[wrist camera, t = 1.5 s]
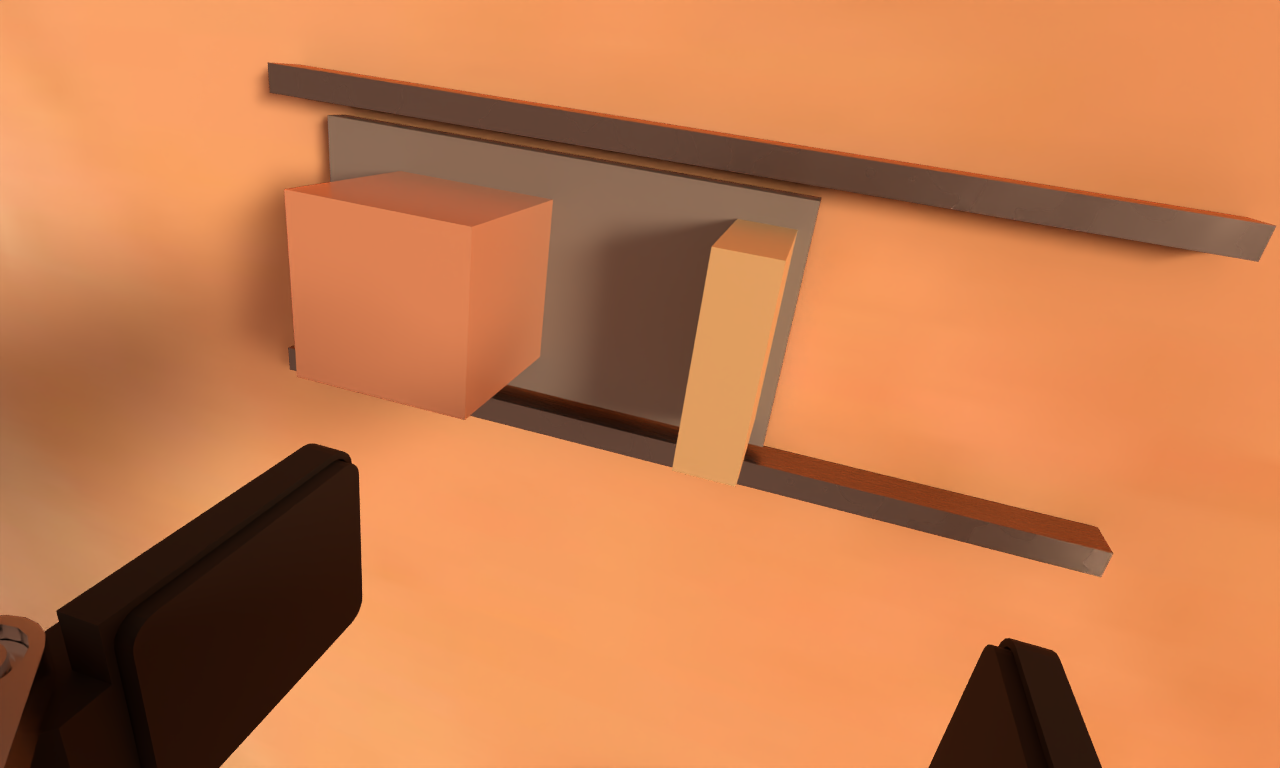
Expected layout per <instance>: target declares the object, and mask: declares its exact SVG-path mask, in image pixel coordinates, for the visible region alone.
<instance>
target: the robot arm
mask: <svg viewBox="0 0 1280 768" xmlns="http://www.w3.org/2000/svg"><path fill="white" fill-rule="evenodd" d="M361 603H362V569H361V533H360V497H359V472H358V468H357V466H355V465H354V464H352V462H351V458H350V456H349V454H347V453H345V452H343V451H339V450H336V449H332V448H329V447H325V446H321V445H318V444H307V445H305V446H303V447H302V448H300V449H299V450H297V451H296V452H294V453H293V454H291V455H290V456H288V457H287V458H285V459H284V460H282V461H281V462H279V463H278V464H276V465H275V466H273V467H272V468H270V469H269V470H267V471H266V472H264V473H263V474H261V475H260V476H258V477H257V478H255V479H254V480H252V481H251V482H249V483H248V484H246V485H245V486H243V487H242V488H240V489H239V490H237V491H236V492H234V493H233V494H231V495H230V496H228V497H227V498H225V499H224V500H222V501H221V502H219V503H218V504H216V505H215V506H213V507H212V508H210V509H209V510H207V511H206V512H204V513H203V514H201V515H200V516H198V517H197V518H195V519H194V520H192V521H191V522H189V523H188V524H186V525H185V526H183V527H182V528H180V529H179V530H177V531H176V532H174V533H173V534H171V535H170V536H168V537H167V538H165V539H164V540H162V541H161V542H159V543H158V544H156V545H155V546H153V547H152V548H150V549H149V550H147V551H146V552H144V553H143V554H141V555H140V556H138V557H137V558H135V559H134V560H132V561H131V562H129V563H128V564H126V565H125V566H123V567H122V568H120V569H119V570H117V571H116V572H114V573H113V574H111V575H110V576H108V577H107V578H105V579H104V580H102V581H101V582H99V583H98V584H96V585H95V586H93V587H92V588H90V589H89V590H87V591H86V592H84V593H83V594H81V595H80V596H78V597H77V598H75V599H74V600H72V601H71V602H69V603H68V604H66V605H65V606H63V607H62V608H60V609H58V610H57V611H56V612H57V615H58V619H59V622H58V623H56V624H55V625H53V626H52V627H51V628H49V629H48V630H46V631H45V632H44V631H43V629H42V628H41V626H40V625H39V624H38V623H36V622H34V621H32V620H30V619H28V618H26V617H18V616H10V615H0V768H219V767H220V766H221V765H222V764H223V763H224V762H225V761H226V760H227V759H228V758H229V756H230V755H231V754H232V753H233V752H234V751H235V750H236V749H237V748H238V747H239V745H240V744H241V743H242V742H243V741H244V740H245V739H246V738H247V737H248V736H249V735H250V733H251V732H252V731H253V730H254V729H255V728H256V727H257V726H258V725H259V724H260V723H261V721H262V720H263V719H264V718H265V717H266V716H267V715H268V714H269V713H270V712H271V710H272V709H273V708H274V707H275V706H276V705H277V704H278V703H279V702H280V701H281V700H282V698H283V697H284V696H285V695H286V694H287V693H288V692H289V691H290V690H291V689H292V688H293V686H294V685H295V684H296V683H297V682H298V681H299V680H300V679H301V678H302V677H303V675H304V674H305V673H306V672H307V671H308V670H309V669H310V668H311V667H312V666H313V665H314V663H315V662H316V661H317V660H318V659H319V658H320V657H321V656H322V655H323V654H324V653H325V651H326V650H327V649H328V648H329V647H330V646H331V645H332V644H333V643H334V642H335V640H336V639H337V638H338V637H339V636H340V635H341V634H342V633H343V632H344V631H345V630H346V628H347V627H348V626H349V625H350V624H351V623H352V622H353V620H354V619H355V617H356V616H357V614H358V612H359V609H360V607H361ZM929 768H1102V767H1101V764H1100V762H1099V759H1098V756H1097V754H1096V751H1095V749H1094V746H1093V743H1092V741H1091V738H1090V736H1089V733H1088V731H1087V728H1086V725H1085V723H1084V720H1083V718H1082V715H1081V713H1080V710H1079V707H1078V705H1077V702H1076V700H1075V697H1074V695H1073V692H1072V689H1071V687H1070V684H1069V682H1068V679H1067V676H1066V674H1065V671H1064V669H1063V666H1062V664H1061V661H1060V659H1059V657H1058V655H1057V653H1055V652H1054V651H1052V650H1049V649H1046V648H1042V647H1039V646H1035V645H1032V644H1028V643H1024V642H1021V641H1017V640H1014V639H1010V638H1007V639H1004V640H1003V641H1002V642H1001V643H1000V645H999V646H998V647H997V646H994V645H987V646H986V647H985V648H984V650H983V652H982V654H981V656H980V658H979V660H978V662H977V664H976V666H975V669H974V671H973V673H972V675H971V677H970V679H969V682H968V684H967V686H966V688H965V690H964V692H963V695H962V697H961V699H960V701H959V703H958V705H957V708H956V710H955V712H954V714H953V716H952V718H951V720H950V723H949V725H948V727H947V729H946V731H945V733H944V736H943V738H942V740H941V742H940V744H939V746H938V749H937V751H936V753H935V755H934V757H933V759H932V762H931V764H930V766H929Z"/></svg>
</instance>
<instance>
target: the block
mask: <svg viewBox="0 0 1280 768" xmlns="http://www.w3.org/2000/svg"><path fill="white" fill-rule="evenodd" d="M284 193H285V208H286V223H287V237H288V252H289V267H290V281H291V296H292V311H293V325H294V340H295V354H296V369H297V377H300V378H304V379H308V380H312V381H316V382H319V383H323V384H327V385H331V386H335V387H339V388H343V389H347V390H350V391H354V392H358V393H362V394H366V395H370V396H374V397H378V398H381V399H385V400H389V401H393V402H397V403H401V404H405V405H409V406H413V407H416V408H420V409H424V410H428V411H432V412H436V413H440V414H444V415H447V416H451V417H455V418H459V419H463V420H465V419H466V418H468V417H469V416H470V415H471V414H472V413H473V412H475V411H476V410H477V409H478V408H479V407H481V406H482V405H483V404H484V403H485V402H487V401H488V400H489V399H490V398H491V397H493V396H494V395H495V394H496V393H497V392H499V391H500V390H501V389H502V388H503V387H505V386H506V385H507V384H508V383H509V382H511V381H512V380H513V379H514V378H515V377H517V376H518V375H519V374H520V373H521V372H523V371H524V370H525V369H526V368H527V367H528V366H530V365H531V364H532V363H533V362H534V361H536V360H537V359H538V358H539V357H540V350H541V338H542V326H543V314H544V302H545V290H546V278H547V266H548V254H549V242H550V230H551V218H552V206H553V200H552V199H547V198H542V197H536V196H531V195H526V194H520V193H515V192H510V191H505V190H499V189H494V188H489V187H483V186H478V185H473V184H467V183H462V182H457V181H451V180H446V179H441V178H435V177H430V176H425V175H419V174H414V173H409V172H403V171H397V172H391V173H385V174H378V175H372V176H366V177H359V178H353V179H346V180H340V181H334V182H327V183H321V184H315V185H308V186H302V187H295V188H289V189H284Z"/></svg>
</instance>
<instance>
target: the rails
mask: <svg viewBox="0 0 1280 768" xmlns="http://www.w3.org/2000/svg"><path fill="white" fill-rule="evenodd" d="M268 73H269V87H270V93H276V94H281V95H287V96H293V97H299V98H305V99H311V100H316V101H322V102H328V103H334V104H340V105H346V106H352V107H357V108H363V109H369V110H375V111H381V112H387V113H392V114H398V115H404V116H410V117H416V118H422V119H427V120H433V121H439V122H445V123H451V124H457V125H463V126H468V127H474V128H480V129H486V130H492V131H498V132H503V133H509V134H515V135H521V136H527V137H533V138H539V139H544V140H550V141H556V142H562V143H568V144H574V145H579V146H585V147H591V148H597V149H603V150H609V151H614V152H620V153H626V154H632V155H638V156H644V157H650V158H655V159H661V160H667V161H673V162H679V163H685V164H690V165H696V166H702V167H708V168H714V169H720V170H725V171H731V172H737V173H743V174H749V175H755V176H761V177H766V178H772V179H778V180H784V181H790V182H796V183H801V184H807V185H813V186H819V187H825V188H831V189H836V190H842V191H848V192H854V193H860V194H866V195H872V196H877V197H883V198H889V199H895V200H901V201H907V202H912V203H918V204H924V205H930V206H936V207H942V208H947V209H953V210H959V211H965V212H971V213H977V214H983V215H988V216H994V217H1000V218H1006V219H1012V220H1018V221H1023V222H1029V223H1035V224H1041V225H1047V226H1053V227H1058V228H1064V229H1070V230H1076V231H1082V232H1088V233H1094V234H1099V235H1105V236H1111V237H1117V238H1123V239H1129V240H1134V241H1140V242H1146V243H1152V244H1158V245H1164V246H1170V247H1175V248H1181V249H1187V250H1193V251H1199V252H1205V253H1210V254H1216V255H1222V256H1228V257H1234V258H1240V259H1245V260H1251V261H1257V262H1259V260H1260V258H1261V255H1262V253H1263V251H1264V249H1265V247H1266V245H1267V243H1268V241H1269V239H1270V237H1271V235H1272V233H1273V231H1274V229H1275V227H1276V226H1275V225H1272V224H1268V223H1265V222H1261V221H1258V220H1255V219H1251V218H1248V217H1242V216H1236V215H1230V214H1224V213H1218V212H1211V211H1205V210H1199V209H1193V208H1187V207H1180V206H1174V205H1168V204H1162V203H1155V202H1149V201H1143V200H1137V199H1131V198H1124V197H1118V196H1112V195H1106V194H1100V193H1093V192H1087V191H1081V190H1075V189H1068V188H1062V187H1056V186H1050V185H1044V184H1037V183H1031V182H1025V181H1019V180H1013V179H1006V178H1000V177H994V176H988V175H982V174H975V173H969V172H963V171H957V170H950V169H944V168H938V167H932V166H926V165H919V164H913V163H907V162H901V161H895V160H888V159H882V158H876V157H870V156H863V155H857V154H851V153H845V152H839V151H832V150H826V149H820V148H814V147H808V146H801V145H795V144H789V143H783V142H777V141H770V140H764V139H758V138H752V137H745V136H739V135H733V134H727V133H721V132H714V131H708V130H702V129H696V128H690V127H683V126H677V125H671V124H665V123H658V122H652V121H646V120H640V119H634V118H627V117H621V116H615V115H609V114H603V113H596V112H590V111H584V110H578V109H572V108H565V107H559V106H553V105H547V104H540V103H534V102H528V101H522V100H516V99H509V98H503V97H497V96H491V95H485V94H478V93H472V92H466V91H460V90H453V89H447V88H441V87H435V86H429V85H422V84H416V83H410V82H404V81H398V80H391V79H385V78H379V77H373V76H367V75H360V74H354V73H348V72H342V71H335V70H329V69H323V68H317V67H311V66H304V65H297V64H282V63H268ZM288 349H289V363H290V370H294V371H297V369H296V354H295V345H293V346H291V347H289V348H288ZM470 416H474V417H478V418H481V419H485V420H489V421H493V422H497V423H501V424H505V425H509V426H513V427H517V428H521V429H524V430H528V431H532V432H536V433H540V434H544V435H548V436H552V437H556V438H560V439H563V440H567V441H571V442H575V443H579V444H583V445H587V446H591V447H595V448H599V449H603V450H606V451H610V452H614V453H618V454H622V455H626V456H630V457H634V458H638V459H642V460H645V461H649V462H653V463H657V464H661V465H665V466H669V467H673V462H674V456H675V451H676V445H677V439H678V434H679V428H680V427H678V426H674V425H670V424H666V423H662V422H658V421H654V420H650V419H646V418H642V417H637V416H633V415H629V414H625V413H621V412H617V411H613V410H609V409H605V408H601V407H596V406H592V405H588V404H584V403H580V402H576V401H572V400H568V399H564V398H560V397H556V396H551V395H547V394H543V393H539V392H535V391H531V390H527V389H523V388H519V387H515V386H511V385H506V386H505V387H503V388H502V389H501V390H500V391H499V392H497V393H496V394H495V395H494V396H493V397H491V398H490V399H489V400H488V401H487V402H485V403H484V404H483V405H482V406H481V407H479V408H478V409H477V410H476V411H475V412H473V413H472V414H471V415H470ZM737 484H739V485H743V486H747V487H751V488H755V489H759V490H763V491H767V492H770V493H774V494H778V495H782V496H786V497H790V498H794V499H798V500H802V501H806V502H809V503H813V504H817V505H821V506H825V507H829V508H833V509H837V510H841V511H845V512H849V513H852V514H856V515H860V516H864V517H868V518H872V519H876V520H880V521H884V522H888V523H891V524H895V525H899V526H903V527H907V528H911V529H915V530H919V531H923V532H927V533H931V534H934V535H938V536H942V537H946V538H950V539H954V540H958V541H962V542H966V543H970V544H973V545H977V546H981V547H985V548H989V549H993V550H997V551H1001V552H1005V553H1009V554H1013V555H1016V556H1020V557H1024V558H1028V559H1032V560H1036V561H1040V562H1044V563H1048V564H1052V565H1055V566H1059V567H1063V568H1067V569H1071V570H1075V571H1079V572H1083V573H1087V574H1091V575H1095V576H1098V577H1102V575H1103V573H1104V571H1105V569H1106V567H1107V565H1108V563H1109V561H1110V559H1111V557H1112V555H1113V552H1112V551H1111V549H1110V547H1109V546H1108V544H1107V542H1106V541H1105V539H1104V537H1103V536H1102V534H1101V532H1100V530H1099V529H1098V527H1094V526H1090V525H1085V524H1081V523H1077V522H1073V521H1069V520H1065V519H1061V518H1057V517H1053V516H1049V515H1044V514H1040V513H1036V512H1032V511H1028V510H1024V509H1020V508H1016V507H1012V506H1008V505H1003V504H999V503H995V502H991V501H987V500H983V499H979V498H975V497H971V496H967V495H962V494H958V493H954V492H950V491H946V490H942V489H938V488H934V487H930V486H926V485H921V484H917V483H913V482H909V481H905V480H901V479H897V478H893V477H889V476H885V475H880V474H876V473H872V472H868V471H864V470H860V469H856V468H852V467H848V466H844V465H839V464H835V463H831V462H827V461H823V460H819V459H815V458H811V457H807V456H803V455H799V454H794V453H790V452H786V451H782V450H778V449H774V448H770V447H766V446H763V447H760V446H756V445H752V444H748V446H747V449H746V453H745V456H744V460H743V463H742V467H741V470H740V474H739V478H738V481H737Z"/></svg>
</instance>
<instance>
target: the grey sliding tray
mask: <svg viewBox="0 0 1280 768" xmlns="http://www.w3.org/2000/svg"><path fill="white" fill-rule="evenodd" d="M328 136H329V159H330V182H334V181H340V180H346V179H353V178H359V177H366V176H372V175H378V174H385V173H391V172H397V171H403V172H409V173H414V174H419V175H425V176H430V177H435V178H441V179H446V180H451V181H457V182H462V183H467V184H473V185H478V186H483V187H489V188H494V189H499V190H505V191H510V192H515V193H520V194H526V195H531V196H536V197H542V198H547V199H552V200H553V206H552V218H551V230H550V242H549V254H548V266H547V278H546V290H545V302H544V314H543V326H542V338H541V350H540V357H539V358H538V359H537V360H536V361H534V362H533V363H532V364H531V365H530V366H528V367H527V368H526V369H525V370H524V371H523V372H521V373H520V374H519V375H518V376H517V377H515V378H514V379H513V380H512V381H511V382H509V383H508V384H507V385H511V386H515V387H519V388H523V389H527V390H531V391H535V392H539V393H543V394H547V395H551V396H556V397H560V398H564V399H568V400H572V401H576V402H580V403H584V404H588V405H592V406H596V407H601V408H605V409H609V410H613V411H617V412H621V413H625V414H629V415H633V416H637V417H642V418H646V419H650V420H654V421H658V422H662V423H666V424H670V425H674V426H678V427H680V428H679V434H678V439H677V445H676V451H675V456H674V462H673V467H672V471H675V472H679V473H683V474H687V475H691V476H695V477H698V478H702V479H706V480H710V481H714V482H718V483H722V484H726V485H730V486H733V487H736V485H737V481H738V478H739V474H740V470H741V467H742V463H743V460H744V456H745V453H746V449H747V446H748V444H752V445H756V446H760V447H763V444H764V440H765V436H766V432H767V427H768V423H769V419H770V415H771V410H772V406H773V402H774V398H775V393H776V389H777V385H778V380H779V376H780V372H781V368H782V363H783V359H784V355H785V351H786V346H787V342H788V338H789V333H790V329H791V325H792V321H793V316H794V312H795V308H796V304H797V299H798V295H799V291H800V286H801V282H802V278H803V274H804V269H805V265H806V261H807V257H808V252H809V248H810V244H811V239H812V235H813V231H814V227H815V222H816V218H817V214H818V210H819V205H820V201H821V198H820V197H814V196H809V195H803V194H797V193H791V192H786V191H780V190H774V189H768V188H763V187H757V186H751V185H745V184H740V183H734V182H728V181H722V180H717V179H711V178H705V177H699V176H694V175H688V174H682V173H677V172H671V171H665V170H659V169H654V168H648V167H642V166H636V165H631V164H625V163H619V162H613V161H608V160H602V159H596V158H590V157H585V156H579V155H573V154H567V153H562V152H556V151H550V150H544V149H539V148H533V147H527V146H521V145H516V144H510V143H504V142H498V141H493V140H487V139H481V138H475V137H470V136H464V135H458V134H452V133H447V132H441V131H435V130H429V129H424V128H418V127H412V126H406V125H401V124H395V123H389V122H383V121H378V120H372V119H366V118H360V117H355V116H349V115H328Z"/></svg>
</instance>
